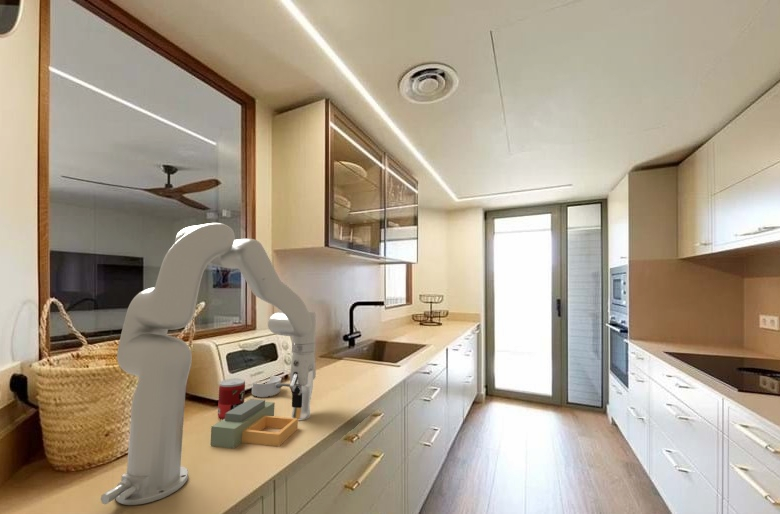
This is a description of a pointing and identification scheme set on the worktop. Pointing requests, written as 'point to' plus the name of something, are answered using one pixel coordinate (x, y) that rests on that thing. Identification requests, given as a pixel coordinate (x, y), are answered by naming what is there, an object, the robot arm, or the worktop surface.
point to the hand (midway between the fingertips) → (301, 402)
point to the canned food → (230, 395)
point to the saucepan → (268, 387)
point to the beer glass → (304, 400)
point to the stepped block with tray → (252, 426)
